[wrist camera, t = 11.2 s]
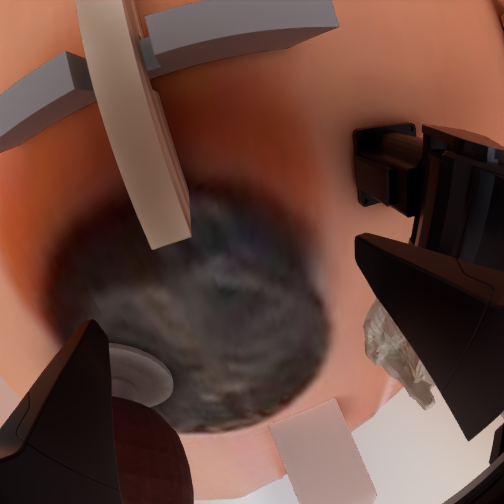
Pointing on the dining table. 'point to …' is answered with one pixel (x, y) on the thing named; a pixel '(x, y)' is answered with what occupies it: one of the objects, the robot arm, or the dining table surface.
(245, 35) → the grey notched bar
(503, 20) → the rough brown rock
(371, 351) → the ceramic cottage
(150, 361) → the mate gourd
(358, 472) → the milk
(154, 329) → the dining table surface
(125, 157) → the long wooden slat
